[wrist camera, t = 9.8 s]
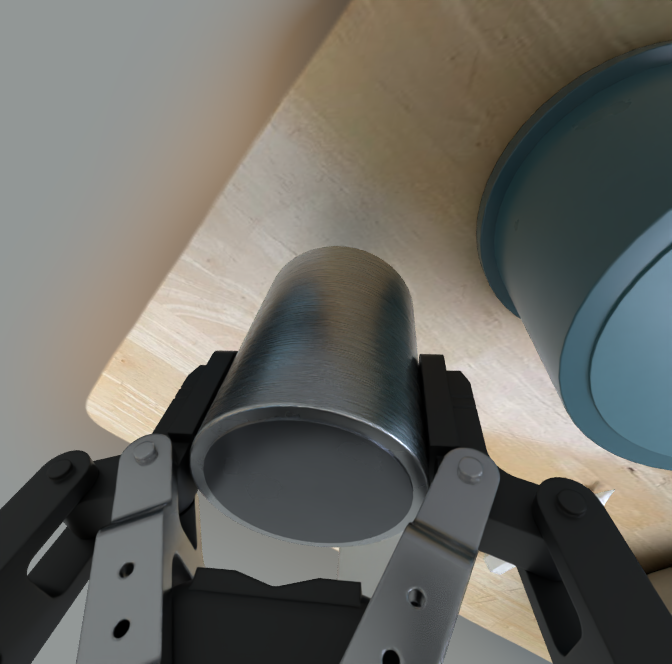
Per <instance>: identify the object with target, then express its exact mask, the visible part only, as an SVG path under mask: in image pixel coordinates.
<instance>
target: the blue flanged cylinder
mask: <svg viewBox="0 0 672 664" xmlns="http://www.w3.org/2000/svg"><path fill="white" fill-rule="evenodd" d="M476 237H477V250H478V254H479V259H480V263H481V266H482V268H483V271H484V273H485V276H486V278H487V280H488V283H489V285H490V287H491V288H492V290H493V292H494V293H495V295H496V297H497V298H498V299H499V300H500V301H501V302H502V304H503V305H504V306H505V307H506V308H507V309H508V310H510V311H511V312H512V313H513V314H514V315H516V316H517V317H519V318H520V319H521V320H522V322H523V324H524V326H525V328H526V330H527V332H528V334H529V336H530V338H531V340H532V342H533V344H534V346H535V348H536V350H537V352H538V354H539V356H540V358H541V360H542V362H543V364H544V366H545V369H546V371H547V373H548V375H549V377H550V379H551V381H552V383H553V385H554V387H555V389H556V391H557V393H558V395H559V397H560V399H561V401H562V403H563V405H564V407H565V409H566V411H567V413H568V414H569V416H570V417H571V419H572V421H573V422H574V424H575V425H576V426H577V427H578V428H579V429H580V430H581V431H582V432H583V434H584V435H585V436H587V437H588V438H589V439H591V440H592V441H593V442H595V443H596V444H597V445H598V446H600V447H602V448H603V449H605V450H607V451H609V452H611V453H613V454H614V455H617V456H619V457H622V458H624V459H627V460H629V461H632V462H635V463H639V464H642V465H646V466H650V467H654V468H660V469H665V470H671V471H672V40H671V41H665V42H659V43H655V44H652V45H648V46H645V47H641V48H638V49H634V50H632V51H629V52H627V53H625V54H622V55H620V56H617V57H615V58H613V59H610V60H608V61H606V62H604V63H602V64H601V65H599V66H597V67H595V68H593V69H591V70H590V71H588V72H586V73H584V74H583V75H581V76H580V77H578V78H577V79H575V80H574V81H573V82H571V83H570V84H568V85H567V86H565V87H564V88H562V89H561V90H560V91H559V92H558V93H556V94H555V95H554V96H553V97H552V98H550V99H549V100H548V101H547V102H546V103H545V104H543V105H542V106H541V107H540V108H539V109H538V110H537V111H536V112H535V113H534V114H533V115H532V116H531V117H530V118H529V120H528V121H527V122H526V123H525V124H524V125H523V126H522V127H521V129H520V130H519V131H518V132H517V134H516V135H515V136H514V137H513V139H512V140H511V141H510V143H509V144H508V145H507V147H506V149H505V150H504V152H503V153H502V155H501V157H500V158H499V160H498V161H497V163H496V165H495V167H494V169H493V171H492V173H491V175H490V177H489V179H488V182H487V185H486V187H485V190H484V193H483V196H482V199H481V203H480V208H479V212H478V217H477V230H476Z"/></svg>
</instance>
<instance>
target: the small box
mask: <svg viewBox="0 0 672 664" xmlns="http://www.w3.org/2000/svg"><path fill="white" fill-rule="evenodd" d="M402 533H403V532H401V533H399V534H397V535H395V536H393V537H391V538H388V539H385V540H382V541H379V542H375V543H371V544H366V545H360V546H351V547H340V548H339V559H338V570H337V580H344V581H355V582H361V587H362V595H365V596H367V597H369V598H372V595H373V593H374V591H375V589H376V587H377V585H378V583H379V581H380V579H381V577H382V575H383V573H384V571H385V568H386V566H387V564H388V562H389V560H390V558H391V556H392V554H393V552H394V550H395V548H396V546H397V544H398V541H399V539H400V537H401V535H402Z"/></svg>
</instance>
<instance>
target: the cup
mask: <svg viewBox="0 0 672 664" xmlns="http://www.w3.org/2000/svg"><path fill="white" fill-rule="evenodd" d="M189 466H190V471H191V475H192V477H193V480H194V482H195V484H196V486H197V487H198V489H199V490H200V492H201V493H202V494H203V496H204V497H205V498H206V499H207V500H208V501H209V502H210V503H211V504H212V505H213V506H214V507H215V508H217V509H218V510H219V511H220V512H222V513H223V514H224V515H226V516H227V517H229V518H230V519H232V520H233V521H235V522H237V523H239V524H241V525H243V526H245V527H247V528H249V529H251V530H253V531H256V532H258V533H261V534H263V535H266V536H269V537H272V538H275V539H279V540H283V541H287V542H291V543H296V544H302V545H308V546H317V547H351V546H360V545H366V544H371V543H375V542H379V541H382V540H385V539H388V538H391V537H393V536H395V535H397V534H399V533H401V532H403V531H404V529H405V528H406V526H407V525H408V523H409V522H413V521H414V519H415V517H416V515H417V513H418V511H419V509H420V507H421V505H422V503H423V501H424V498H425V496H426V494H427V492H428V490H429V488H430V478H429V468H428V458H427V448H426V437H425V427H424V416H423V405H422V395H421V384H420V374H419V363H418V352H417V342H416V331H415V321H414V310H413V303H412V298H411V295H410V292H409V289H408V287H407V286H406V284H405V282H404V280H403V279H402V278H401V276H400V275H399V274H398V273H397V272H396V271H395V270H394V269H393V268H392V267H391V266H390V265H389V264H387V263H386V262H385V261H384V260H382V259H380V258H378V257H377V256H375V255H373V254H370V253H368V252H366V251H363V250H359V249H356V248H350V247H341V246H331V247H322V248H318V249H313V250H310V251H308V252H305V253H303V254H301V255H299V256H297V257H295V258H294V259H292V260H291V261H290V262H288V263H287V264H286V265H285V266H284V267H283V268H282V269H281V270H280V272H279V273H278V274H277V276H276V278H275V280H274V281H273V283H272V285H271V287H270V289H269V291H268V293H267V295H266V297H265V299H264V301H263V303H262V305H261V307H260V309H259V311H258V313H257V315H256V317H255V319H254V321H253V323H252V325H251V327H250V329H249V331H248V333H247V335H246V337H245V339H244V341H243V343H242V345H241V347H240V349H239V351H238V353H237V355H236V357H235V359H234V361H233V363H232V365H231V367H230V369H229V371H228V373H227V375H226V377H225V379H224V381H223V383H222V385H221V387H220V389H219V391H218V393H217V395H216V397H215V399H214V401H213V403H212V405H211V407H210V409H209V411H208V413H207V415H206V417H205V419H204V421H203V423H202V425H201V427H200V429H199V431H198V433H197V435H196V437H195V439H194V441H193V443H192V446H191V449H190V454H189Z"/></svg>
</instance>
